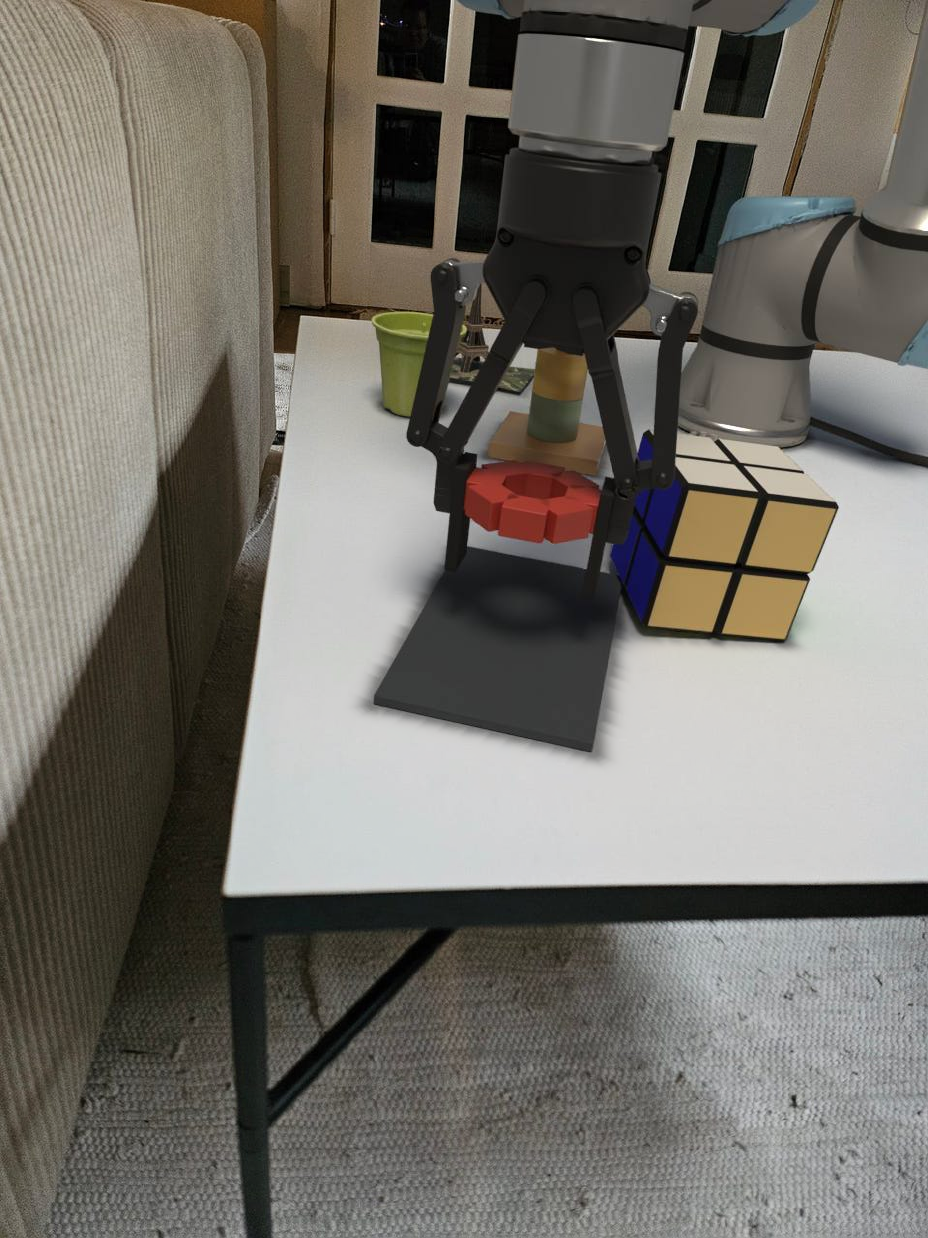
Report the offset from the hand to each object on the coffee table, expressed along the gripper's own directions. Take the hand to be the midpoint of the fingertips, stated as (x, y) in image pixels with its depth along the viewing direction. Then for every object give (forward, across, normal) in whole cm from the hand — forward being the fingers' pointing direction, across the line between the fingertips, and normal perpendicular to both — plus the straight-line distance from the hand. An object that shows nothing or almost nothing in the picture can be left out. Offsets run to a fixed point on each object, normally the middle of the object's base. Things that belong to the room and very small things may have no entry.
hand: (522, 573), depth 55 cm
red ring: (-4, 0, 0) cm, 4 cm away
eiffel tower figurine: (+4, +16, -56) cm, 58 cm away
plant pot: (+4, +18, -40) cm, 44 cm away
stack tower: (+4, +3, -35) cm, 35 cm away
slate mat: (+4, 0, 0) cm, 4 cm away
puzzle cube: (+4, -11, -9) cm, 15 cm away
